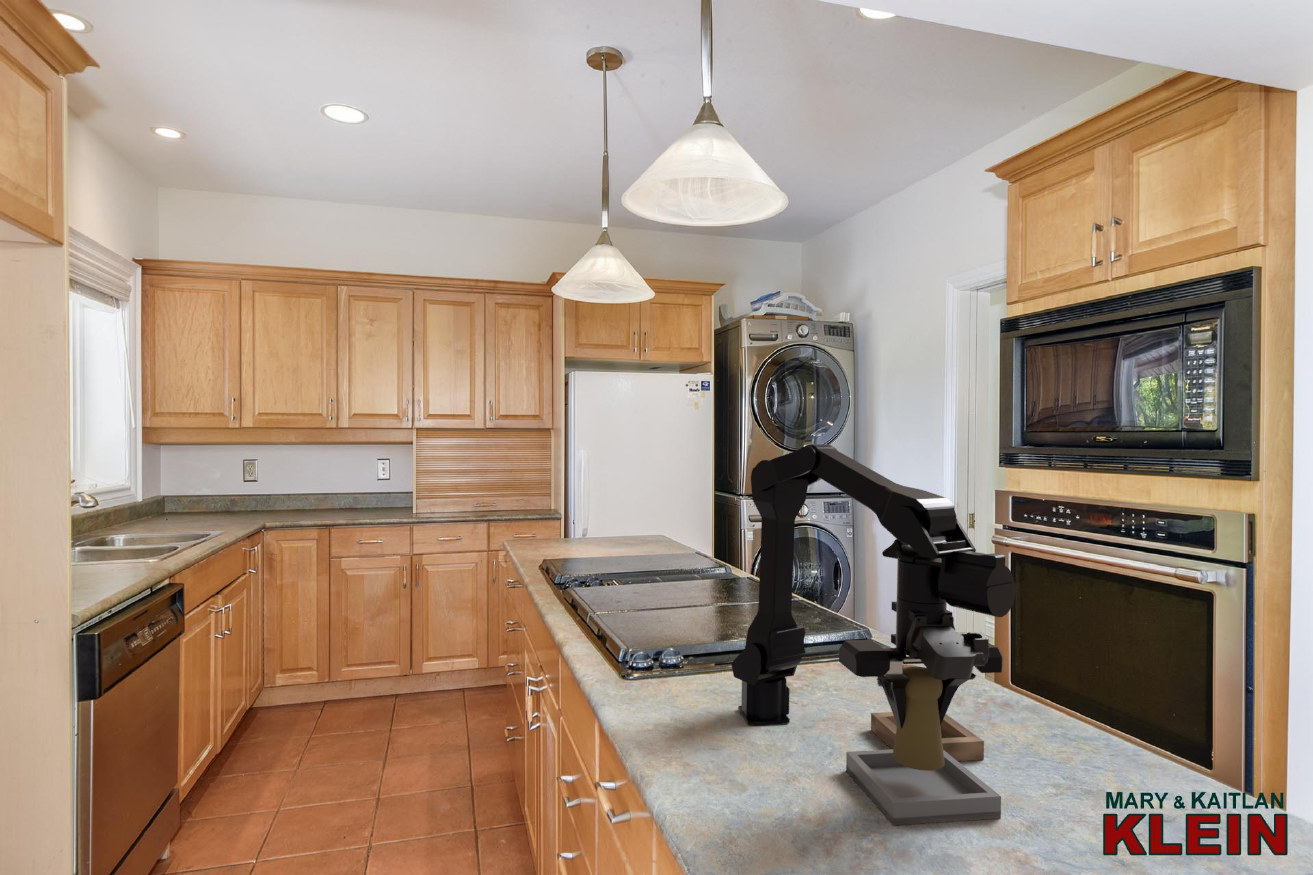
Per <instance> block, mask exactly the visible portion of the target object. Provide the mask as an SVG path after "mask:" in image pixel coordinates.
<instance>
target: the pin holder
mask: <svg viewBox="0 0 1313 875" xmlns="http://www.w3.org/2000/svg"><path fill="white" fill-rule="evenodd" d="M940 727H941V735H942V744H943V750H944V751H946V752H947V753H948V754H949V755H950V756H952V757H953V758H954V759H955V760H957V761H958V762H963V761H965V762H967V761H981V760H982V761H983V760H984V759H985V758H984V757H985V740H983V739H982V738H980V737H979V736H977V735H976V734H974V733H973V731H970V730H969V729H967V728H966V727H965V726H964V725H962V724H960V722H958V721H957V720H955V718H952V717H951V716H949V715H948V714H947V713H946V714H945V717H944V719H943V721H942V724H941V726H940ZM896 729H897V723H896V721H895V718H894V715H893V713H892V711H887V712H871V713H870V731H872V732H873V733H874V734H875V735H876V736H877V737H878V738H879V739H880V740H881V741H882V742H884V744H886V746H888V748H890V749H893V748H894V742H895V736H896Z"/></svg>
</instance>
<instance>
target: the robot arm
mask: <svg viewBox="0 0 1313 875" xmlns="http://www.w3.org/2000/svg"><path fill="white" fill-rule="evenodd" d="M821 480H822V481H824V482H826V483H827V484H829V485H831V487H834V488H835V489H838V491H840V492H842V493H844V494H845V495H846V496H848V497H850V498H851V499H853V500H855V501H857V502H858V503H860V504H861V505H863V506H864V507H866V508H867V509H869V510H871V512H872V513H874V514H875V515H876V518H877V520H878V521H879V523H880V525H881V526H882V527H883V528H884V529H885V530H886V531H887V532H888V533H890V535H892V536H893V538H895V539H894V541H893V542H892V544H891V545H890V546H888V547H886V548H885V549H884V550H883V551H882V554H881V555H882V556H883V557H884V558H890V559H895V560H897V574H896V576H897V578H896V601H891V611H893V612H895V614H896V615H895V616H896V617H895V620H896V621H895V625H896V626H895V633H891V634H890V643H892V644H893V645H895V647H882V646H881V645H879V644H877V643H876V642H874V641H873V640H871V639H847V640H844V641H843V642H842V644H841V645H840V647H839V650H838V662H839V663H840V664H841V665H842V666H844V667H845V668H847V670H849V671H850V672H851V673H852V674H853V675H855V676H857V677H860V678H871V677H872V678H875V677H876V678H877V680H878V679H879V681H880V683H881V685H882V686H881V685H880V686H881V687H882V689H883V692H884V694H885V696H886V699H887V702H888V705H889V706H890V710H891V712H892V713H893V715H894V718H895V721H896V723H897V725H898V726H899V727H900V728H902V727H903V724H904V721H905V687H906V685H907V683H908V682H909V680H910V679H909V678H908V677H907V676H905V675H904V674H903V665H916V664H917V665H921V664H923V665H924V666H925V668H927V669H928V672H929V674H930V675H931V676H932V677H934V678H935V679H938V680H942V685H943V687H942V693H941V696H940V697H939V698H938V699H937V701H938V710H939V718H940V726H941V724H942V721H943V719H944V717H945V714H947V712H948V710H949V707H950V705H951V702H952V700H953V698H954V696H955V694H956V692H957V691H958V688H959V687H961V685H963V684H965V683H966V682H968V681H971V680H975V678H976V677H977V675H976V674H975V673H973V670H974V668H975V669H976V670H977V671H978V672H980V673H981V674H991V673H992V674H994V673H996V674H997V673H1002V672H1004V656H1003V654H1002V651H1001V650H1000V649H999V647H997V646H995V645H994V644H992V643H989V642H990V641H989V637H987V636H986V634H985V633H984V632H983V631H975V632H974V631H971V632H963V631H962V632H958V631H957V630H956V626H955V624H954V622H955V618H954V616H953V612H952V611H951V610H948V609H947V607H948V605H949V606H950V607H953V608H956V609H957V608H958V609H962V610H966V611H970V612H974V613H980V614H983V615H987V616H991V617H996V618H1002V617H1004V616H1006V615H1007V614H1008V613H1009V612H1010V611H1011V609H1012V607H1013V605H1014V603H1015V599H1016V592H1017V584H1016V582H1015V580H1014V575H1013V573H1012V571H1011V569H1010V568H1008V566H1006V555H1004V554H1001V553H984V552H977V549H976V548H975V547H976V546H974V544H973V543H972V541H971V539H970V538H969V536H968V534H967V533H966V531H965V529H964V528H963V526H962V524H961V523H960V522H959V520H958V518H957V513H956V510H955V505H954V504H953V503H952V502H951V500H949V499H948V498H946V497H945V496H942V495H939V494H936V493H933V492H931V491H927V490H923V489H919V488H915V487H911V486H906V485H901V484H899V483H896V482H894V481H893V480H892V479H891V480H890V479H889V478H887V477H886V476H884V475H881V474H880V473H878V472H876V471H874V470H872V469H871V468H870V467H867V466H866V465H864V464H863V463H860V462H859V461H856V460H855V459H853V458H851V457H849V456H848V455H846V454H844V453H842V452H840V451H838V449H837V448H836V447H835V446H833V445H831V444H827V443H826V444H823V443H822V444H821V443H819V444H818V443H811V444H806V445H805V446H802V447H800V448H798V449H797V450H795V451H792V452H789V453H786V454H783V455H781V456H777V457H775V458H772V459H763V460H761V461H759V462H758V463H756V465H755V466H754V467H753V468H752V469H751V474H750V484H751V485H750V487H751V488H750V489H751V498H752V502H753V503H754V506H755V507H756V510H757V511H758V513H759V515H760V517H761V526H760V528H761V529H760V530H761V531H760V553H759V554H760V557H759V560H760V561H759V582H758V583H759V584H758V586H759V587H758V611H757V613H756V614H755V616H754V617H753V619H752V621H751V624H750V625H749V627H748V628H747V633H746V638H745V639H746V640H745V646H744V649H743V650H742V651H741V652H740V653H739V654H738V655H737V656H736V657H735V659H734V660H732V662H731V669H732V673H733V677H734V678H735V679H737V680H739V681H741V705H738V707H737V709H738V711H739V713H740V714H741V716H742V717H743V718H744V720H745V722H746V723H747V724H748V725H749V726H754V725H755V726H756V725H773V724H775V725H776V724H780V725H781V724H789V723H790V721H791V720H790V718H789V717H788V715H789V714H790V695H791V694H790V687H788V686H787V677H794V676H795V673H796V670H797V668H798V665H799V664H800V663H801V661H802V657H803V654H804V655H805V654H806V649H805V638H806V629H805V627H804V626H800V625H799V624H798V623H797V622H796V619H795V617H794V615H793V613H792V610H793V609H792V604H793V581H794V580H793V579H794V578H793V577H794V576H793V575H794V555H795V554H794V548H795V526H796V518H797V516H798V515H799V513H800V511H801V510H802V508H803V507H804V504H805V503H806V499H807V495H808V490H809V486H811V485H813V484H815V483H817V482H820V481H821Z"/></svg>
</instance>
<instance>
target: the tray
mask: <svg viewBox="0 0 1313 875" xmlns="http://www.w3.org/2000/svg"><path fill="white" fill-rule="evenodd" d="M943 753H944V761H945V765H944V766H943V768H941V769H938V770H932V771H925V770H917V769H912V768H909V767H906V766H904V765H902V764H900V763H898V762H897V761H896V760H894V758H893V749H891V748H890V749H874V750H856V751H855V750H854V751H853V750H852V751H846V755H845V756H846V758H845V759H846V760H845V763H846V764H845V765H846V766H845V770H846V772H847V774H848V775H849V776H850V777H851V778H852V779H853V781H854V782H855V783H856V784H857V785H858V786H859V788H860V789H862V791H863V792H864V793H865V794H866V795H867V797H868V798H869V799H870V800H871V802H873V804H874V805H875V806H876V807H877V808H878V809H879V810H880V812H882V814H883V815H884V816H885V817H886V819H887V820H888V821H889V822H890V823H891V825H892V826H905V825H919V824H920V825H921V824H922V825H923V824H932V823H933V824H937V823H948V822H949V823H950V822H951V823H953V822H961V821H962V822H964V821H967V822H968V821H979V820H980V821H981V820H992V819H993V820H994V819H1002V817H1001V816H1002V796H1001V795H1000V794H999V793H997V791H995V790H994V789H993V788H991V787H990V786H989V785H988V784H987V783H985V782H984V781H983V780H982V779H980V778H979V777H978V776H977V775H976V774H974V773H973V772H972V771H970V770H969V769H968V768H967V767H965V766H964V765H963V764H962V763H960V761H957V760H955V759H954V758H953V757H952V756H950V755H949V754H948V753H947V752H946V751H944V750H943Z"/></svg>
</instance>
